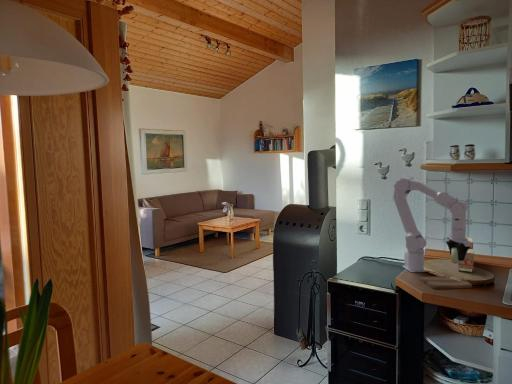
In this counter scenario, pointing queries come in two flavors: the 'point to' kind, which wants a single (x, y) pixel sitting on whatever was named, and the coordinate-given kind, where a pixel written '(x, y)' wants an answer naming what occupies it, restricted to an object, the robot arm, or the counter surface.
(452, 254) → the cylinder
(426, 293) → the counter surface
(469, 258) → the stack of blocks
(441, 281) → the board
